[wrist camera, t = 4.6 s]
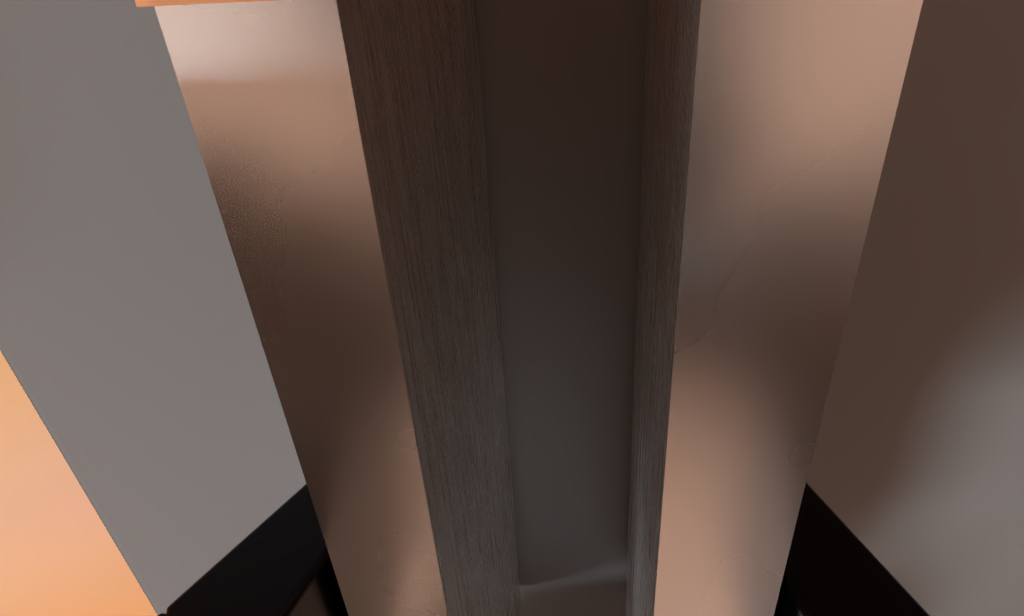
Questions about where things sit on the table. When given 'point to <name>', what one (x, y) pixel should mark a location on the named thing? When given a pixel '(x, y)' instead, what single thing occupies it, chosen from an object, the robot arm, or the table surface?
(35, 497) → the table surface
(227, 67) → the tong leg
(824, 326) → the tong leg
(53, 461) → the table surface
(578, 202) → the tong mat
